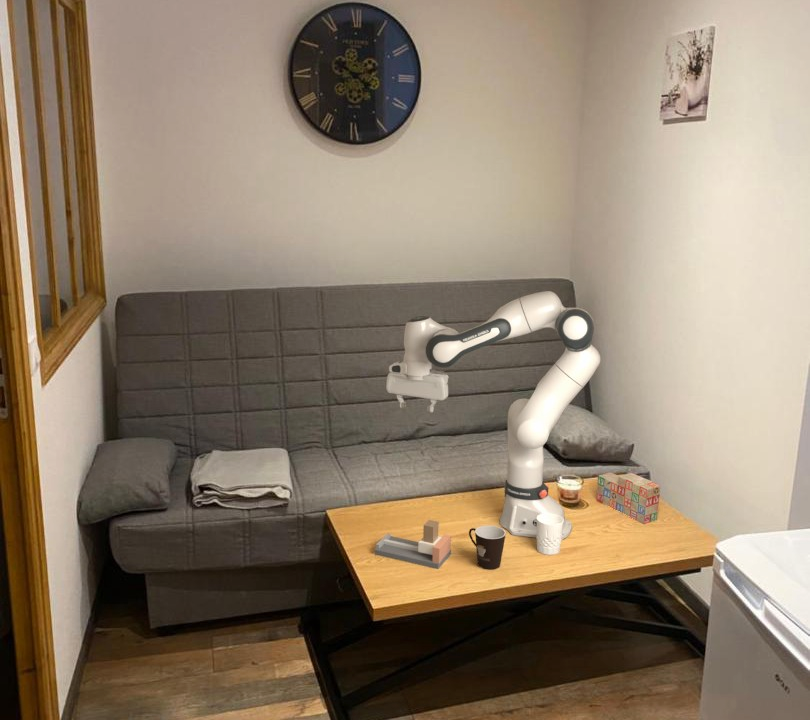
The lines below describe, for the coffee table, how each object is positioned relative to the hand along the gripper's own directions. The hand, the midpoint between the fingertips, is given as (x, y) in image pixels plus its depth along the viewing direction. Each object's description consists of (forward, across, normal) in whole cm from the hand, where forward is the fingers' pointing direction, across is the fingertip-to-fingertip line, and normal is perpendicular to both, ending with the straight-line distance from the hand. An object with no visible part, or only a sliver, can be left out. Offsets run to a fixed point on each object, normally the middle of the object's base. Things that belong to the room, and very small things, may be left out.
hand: (416, 409), depth 259 cm
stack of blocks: (+34, -63, -30) cm, 78 cm away
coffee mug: (+34, -33, +24) cm, 53 cm away
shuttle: (+31, -18, +29) cm, 46 cm away
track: (+34, -12, +29) cm, 46 cm away
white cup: (+34, -47, +9) cm, 59 cm away
